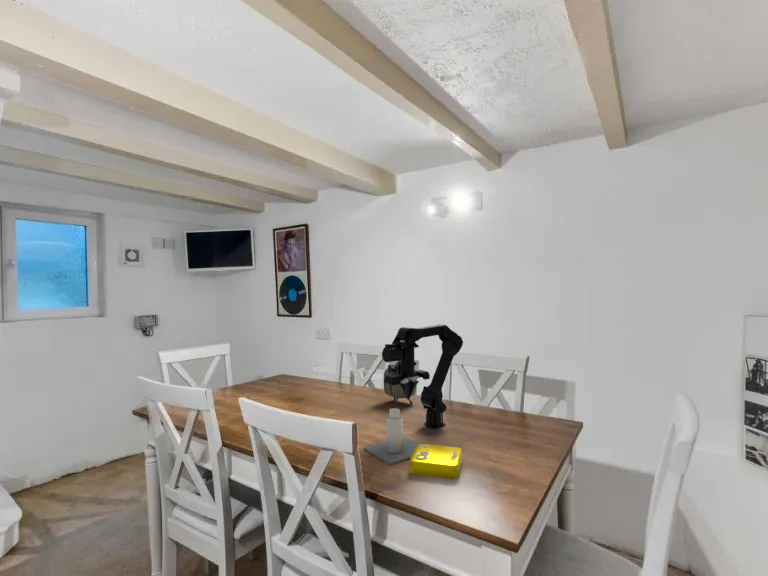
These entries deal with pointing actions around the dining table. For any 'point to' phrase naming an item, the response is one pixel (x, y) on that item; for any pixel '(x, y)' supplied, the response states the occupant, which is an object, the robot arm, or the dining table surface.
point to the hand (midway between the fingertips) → (407, 399)
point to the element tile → (436, 461)
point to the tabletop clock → (395, 388)
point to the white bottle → (394, 431)
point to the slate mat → (392, 458)
